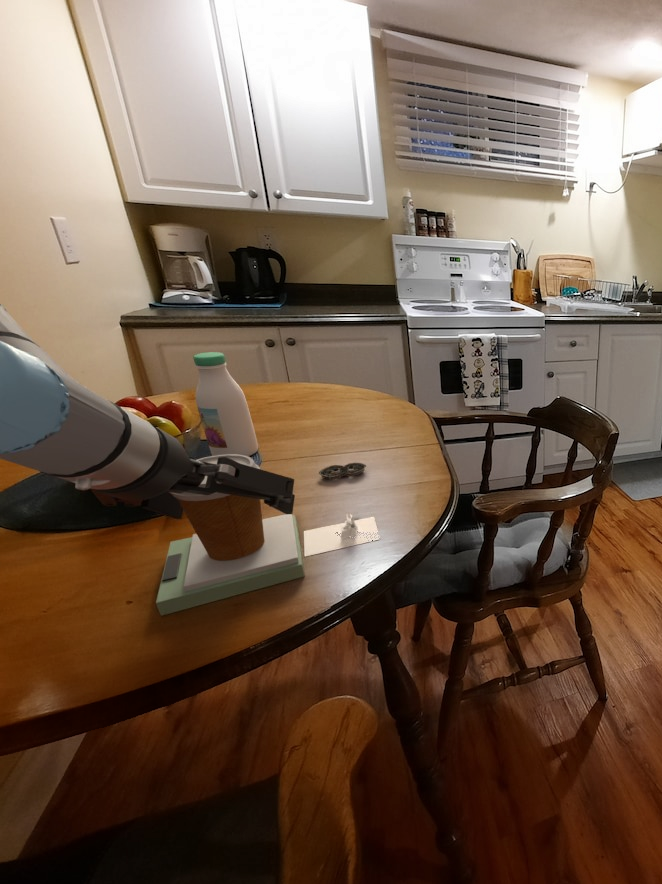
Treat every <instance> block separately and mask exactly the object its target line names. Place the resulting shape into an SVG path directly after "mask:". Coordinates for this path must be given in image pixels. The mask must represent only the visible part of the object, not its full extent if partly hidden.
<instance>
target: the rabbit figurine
mask: <svg viewBox="0 0 662 884" xmlns="http://www.w3.org/2000/svg"><path fill="white" fill-rule="evenodd" d="M349 516H350V517H349ZM345 519H346V520H344V522H343V523H344V525H342V526H341V527H340V533H341V534H340V536H341V537H340V539H341V540H342V539H345V538H348V537H349V536H351V538H352V537H353V538H354V537H355V536H356V533H357V531H359V527H358V525H357V523H356V522H355V519H354V516H353V514H351V513H349V514H348V513H345Z"/></svg>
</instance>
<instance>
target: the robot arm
mask: <svg viewBox="0 0 662 884" xmlns="http://www.w3.org/2000/svg"><path fill="white" fill-rule="evenodd" d="M0 460H3V461H6V462H10V463H13V464H16V465H19V466H22V467H25V468H28V469H30V470H31V469H32V470H35V471H38V472H40V473H41V474H44V475H47V476H53V477H54V478H57V479H61V480H65V481H68V482H69V483H72V484H75V486H74V488H75V490H80V491H87V490H90V491H91V492H92V493H93V495H94V496H95V498H97V499H98V501H99V502H100V503H101V504H102V505H103V506H106V507H113V506H114V507H115V506H117V505H118V503H124V506H126V507H131V508H134V507H138V506H139V507H140V509H144V510H146V511H150V512H153V513H156V514H159V515H162V516H165V517H168V518H171V519H174V520H180V519H181V520H182V519H183V514H184V510H183V509H182V507H181V505H180V503H179V501H178V500H177V498H176V497H174V496H173V494H171V493H170V492H172V493H183V492H188V493H195V494H201V495H211V494H213V493H216V492H217V493H223V494H230V495H236V496H243V497H249V498H256V499H260V500H263V504H265V505H267V506H269V507H270V508H273V509H275V510H277V511H279V512H280V513H283V514H284V515H285V514H292V515H293V511H294V506H295V499H296V495H295V494H294V486H295V479H294V478H292V477H289V476H286V475H282V474H278V473H275V472H271V471H267V470H265V469H261V468H260V469H257V468H254V467H250V466H247V465H243V464H240V463H238V462H236V461H234V460H232V459H230V458H227V457H220V458H218V461H217V464H212V463H207V462H202V461H197V459H195V458H194V457H192V456H188V454H187V451H186V449H185V448H184V446H183V444H182V443H181V442H180V441H179V440H178V439H177V438H176V437H174V436H173V435H171V434H169V433H168V432H166V431H164V430H163V429H161V428H159V427H157V426H155V425H154V424H152V423H150V422H149V421H148V420H146V419H144V418H142V417H141V416H138V415H136V414H135V413H133V412H131V411H129V410H127V409H125V408H124V407H122V406H120V405H118V404H116V403H114V402H113V401H111V400H109V399H107V398H105V397H103V396H101V395H99V394H98V393H97V392H94V391H93V390H92V389H90V388H88V387H87V386H84V385H83V384H81V382H78V381H77V380H76V379H75V378H74V377H72V376H71V375H70V374H69V373H68V372H67V371H65V370H64V369H63V367H62V366H61V365H60V364H59V363H58V362H57V361H56V360H55V359H54V358H53V357H52V356H50V355H49V353H48V352H47V351H46V350H44V349H43V348H41V346H40V345H39V344H38V343H36V342H35V340H34V339H33V338H32V337H31V336H30V335H29V334H28V333H27V332H26V331H25V330H24V329H23V328H22V327H21V325H20V324H19V323H18V322H17V321H15V319H14V318H13V317H12V316H11V315H10V314H9V313H8V311H7V309H6V308H5V307H4V305H2V304H1V303H0ZM205 476H207V481H206V486H205V488H203V487H199V486H200V484H201V483H202V481H203V480H204V478H205Z"/></svg>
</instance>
